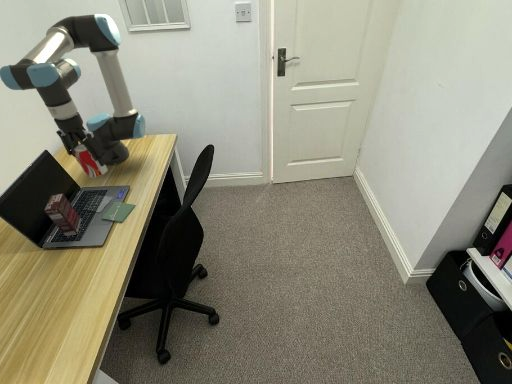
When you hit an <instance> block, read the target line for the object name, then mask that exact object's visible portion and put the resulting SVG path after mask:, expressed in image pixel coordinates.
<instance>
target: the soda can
mask: <svg viewBox="0 0 512 384" xmlns="http://www.w3.org/2000/svg"><path fill="white" fill-rule="evenodd" d="M74 150H75V156H76V158H77V160H78V161H79V163H80V164H79V163H78V164H79V165H80V167H81V168H83V169H82V171H83V170H84V171H83V172H84V173H85V175H86V176H87V177H88V178H91V179H93V178H95V179H96V178H99V177H102V176H103V175H104V174H101V172H100V170H99V168H98V166H97V164H96V162H95V161H94V160H95V157H94V156H93V155H92V154H91V153H90V152H89V151H88V149H87V148H86V147H85V146H84V145H83V144H81V143H79V145H77V146H76V147H75V148H74ZM76 158H75V159H76ZM77 160H76V161H77ZM78 161H77V162H78Z"/></svg>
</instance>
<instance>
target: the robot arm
mask: <svg viewBox="0 0 512 384" xmlns="http://www.w3.org/2000/svg"><path fill="white" fill-rule="evenodd" d="M121 38H122V37H121V33H120V30H119V28H118V27H117V25H116V23H115V21H114V19H112V17H110V16H109V15H107V14H103V13H102V14H101V13H95V14H86V15H84V14H83V15H72V16H67V17H65V18H63V19H61V20H59V21H57V22H56V23H54V24H53V25H51V27H49V28H48V29H47V31H46V33H45V37H44V38H42V39H41V41H40V42H38V43H37V44H36V45H35V46H34V47H33V48H31V50H30V51H29V52H28V53H27V54H25V55H24V56H23V57H22V58H21V59H20V60H18V62H16V63H15V64H8V65H4V66H1V68H0V81H2V83H3V84H4V85H5V86H6V88H8V89H10V90H12V91H26V90H36V92H37V93H38V94H39V96H40V98H41V99H42V102H43V103H44V105H45V106H46V108H47V110H48V111H49V114H50V115H51V117H52V118H53V121H54V122H55V125H56V126H57V128H58V130H56V132H55V133H56V134H57V136H59V139H60V140H61V142H62V144H63V147H64V149H65V151H66V153H67V154H68V156H72V157H73V158H75V159H76V161H77V163H78V164H79V165H80V163H79V161H78V160H77V158H76V156H75V150H74V148H75V147H76V146H77V145H79V144H83V145H84V146H85V147H86V148H87V149H88V151H89V152H90V153H91V154H92V155H93V156H94V157H95V160H94V161H95V162H96V164H97V166H98V168H99V170H100V172H101V174H103V175H104V174H106V173H107V172H108V171H109V169H108V168H107V167H108V166H111V165H117V164H120V163H122V162H124V161H125V160H126V159H128V158H129V156H130V150H129V148H128V147H127V146H126V145H125V144H124V143H123V142H122V141H130V140H137V139H142V138H144V137H145V135H146V128H147V127H146V121H145V117H144V115H143V114H139V111H138V109H137V108H134V106H133V103H132V99H131V96H130V94H129V93H130V92H129V90H128V86H127V83H126V80H125V75H124V73H123V69H122V66H121V63H120V59H119V57H118V53H119V51H120V48H119V46H120V45H121V44H122V39H121ZM87 48H88V49H89V52H90V54H92V55H93V56H94V57H95V58H96V60H97V64H98V66H99V69H100V72H101V75H102V78H103V81H104V84H105V86H106V89H107V93H108V95H109V99H110V102H111V104H112V107H113V113H112V117H111V115H110V114H109V113H107V112H102V113H98V114H95V115H93V116H92V117H90V118H89V119H87V121H86V123H85V125H86V126H85V127H86V128H85V127H84V121H83V118H82V116H81V114H80V112H78V107H77V106H76V104H75V102H74V101H73V99H72V97H71V95H70V92H69V89H70V88H71V87H72V86H73V85H75V84H76V83H77V82H78V81H79V79H80V78H81V76H82V70H81V68H80V66H79V65H78V63H77V61H74V60H73V59H71V58H69V57H64V56H65V54H68V53H71V52H72V51H74V50H75V49H87ZM86 129H87V130H86ZM81 168H82V167H81ZM82 171H83V172H84V170H83V168H82Z"/></svg>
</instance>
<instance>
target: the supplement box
mask: <svg viewBox="0 0 512 384" xmlns="http://www.w3.org/2000/svg"><path fill="white" fill-rule="evenodd" d="M43 211H44V213H45V214H46V215H47V216H48V218H49V219H50V221H52V222H53V223H54V225H56V227H57V228H58V229H59V230H60V232H61V233H62V234H63V235H64V237H65V236H70V235H76V234H78V231H79V228H80V229H81V227H80V223H81V220H83V219H82V217H81V216H80V215H79V214H78V212H77V211H76V209H75V208H74V206H73V205H72V204H71V202H70V201H69V200H68V198H67V197H66V196H65V194H64V193H57V194H52V195H50V197H49V199H48V201H47V203H46V204H45V208H44V209H43ZM79 232H80V231H79ZM78 235H79V234H78Z"/></svg>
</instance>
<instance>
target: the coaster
mask: <svg viewBox="0 0 512 384" xmlns="http://www.w3.org/2000/svg"><path fill="white" fill-rule="evenodd" d="M120 203H121V204H120V205H119V204H118V205H117V203H116V204H115V202H114V203H113V204H112V205H111V207H109V209H108V210H106V213H105V212H104V214H103V216H102V217H101V219H102V220H104V219H109V220H108V221H110V218H111V217H110V216H109V215H112V214H115V211H116V210H117V206H120V207H119V208H118V211H117V213H116V215H115V217H114V221H113V222H115V223H116V222H118V223H124V221H126V219H127V218H128V217H129V215H130V214H131V212H133V210H134V209H135V208H136V204H133V203H126V202H120Z"/></svg>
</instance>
